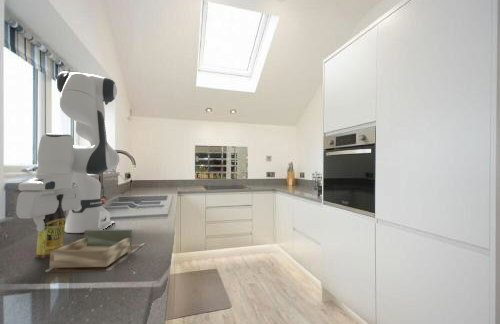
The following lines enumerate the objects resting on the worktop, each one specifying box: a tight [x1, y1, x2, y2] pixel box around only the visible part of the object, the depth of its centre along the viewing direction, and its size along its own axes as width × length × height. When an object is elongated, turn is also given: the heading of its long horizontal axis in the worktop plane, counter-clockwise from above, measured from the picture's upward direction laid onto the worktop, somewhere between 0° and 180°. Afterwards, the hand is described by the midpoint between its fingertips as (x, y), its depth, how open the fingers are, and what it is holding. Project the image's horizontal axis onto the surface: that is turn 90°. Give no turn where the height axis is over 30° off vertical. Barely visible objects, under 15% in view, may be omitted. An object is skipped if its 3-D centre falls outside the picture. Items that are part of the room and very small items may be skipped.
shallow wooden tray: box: [48, 229, 133, 269], centre depth 65 cm, size 14×14×7 cm
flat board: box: [44, 242, 146, 273], centre depth 69 cm, size 23×16×1 cm
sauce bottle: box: [35, 194, 65, 259], centre depth 70 cm, size 7×6×20 cm
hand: (51, 227), depth 70 cm, fingers closed on sauce bottle, 6 cm apart
